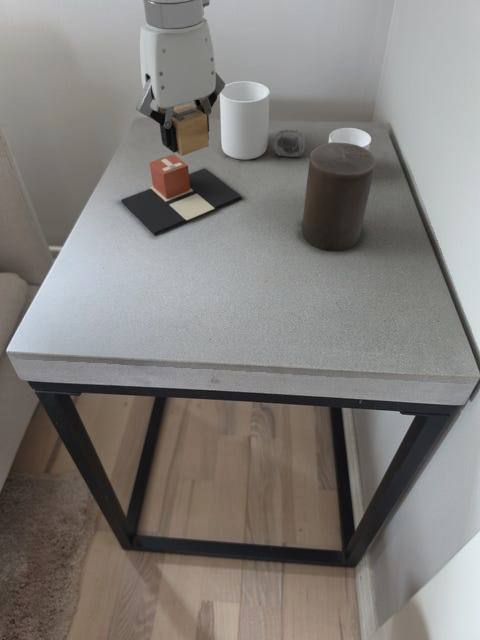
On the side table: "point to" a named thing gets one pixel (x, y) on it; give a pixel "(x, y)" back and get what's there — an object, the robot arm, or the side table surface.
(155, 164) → the terracotta block
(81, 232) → the side table surface
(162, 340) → the side table surface
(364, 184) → the pillar candle
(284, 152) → the fossil
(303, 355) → the side table surface
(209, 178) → the word mat
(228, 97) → the mug
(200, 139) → the maple block
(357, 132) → the cup
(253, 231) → the side table surface
